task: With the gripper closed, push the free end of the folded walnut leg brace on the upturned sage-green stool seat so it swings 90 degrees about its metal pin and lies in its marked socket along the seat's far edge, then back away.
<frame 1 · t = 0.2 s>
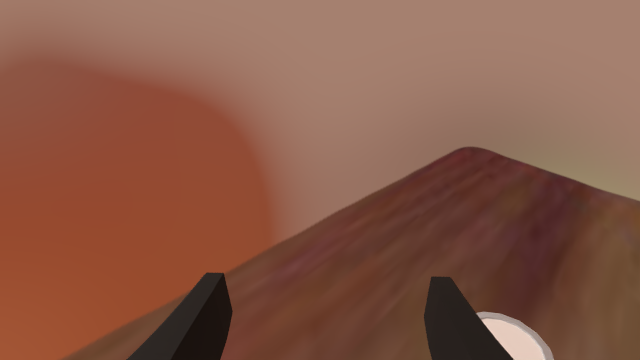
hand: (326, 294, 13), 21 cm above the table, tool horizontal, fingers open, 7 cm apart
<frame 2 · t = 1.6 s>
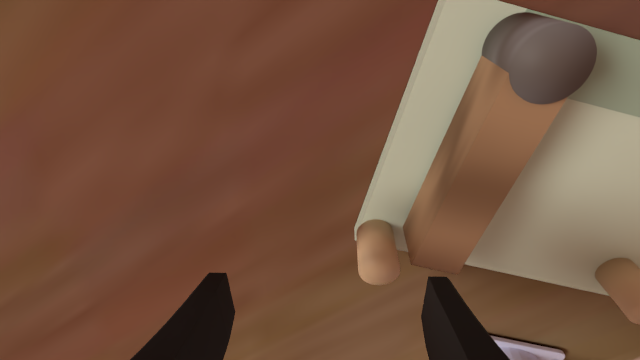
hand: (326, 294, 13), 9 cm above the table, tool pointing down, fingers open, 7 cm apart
seat: (545, 167, 20), on the table
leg: (479, 156, 16), point 3 cm above the table, hinge at 0.0°
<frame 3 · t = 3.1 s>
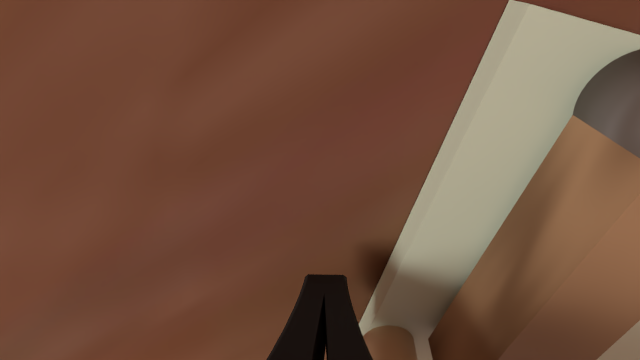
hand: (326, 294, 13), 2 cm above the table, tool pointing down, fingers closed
seat: (635, 257, 14), on the table
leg: (562, 272, 10), point 3 cm above the table, hinge at 0.0°
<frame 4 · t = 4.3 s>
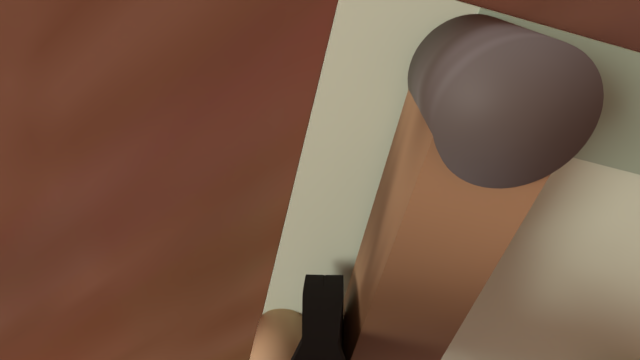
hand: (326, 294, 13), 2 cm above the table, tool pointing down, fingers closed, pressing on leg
seat: (523, 240, 14), on the table
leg: (419, 249, 10), point 3 cm above the table, hinge at 3.9°, touching gripper
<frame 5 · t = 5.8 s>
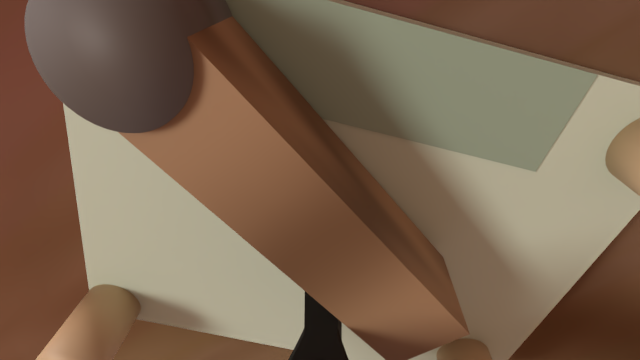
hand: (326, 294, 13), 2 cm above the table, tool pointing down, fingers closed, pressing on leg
seat: (337, 212, 14), on the table
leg: (295, 185, 9), point 3 cm above the table, hinge at 53.8°, touching gripper
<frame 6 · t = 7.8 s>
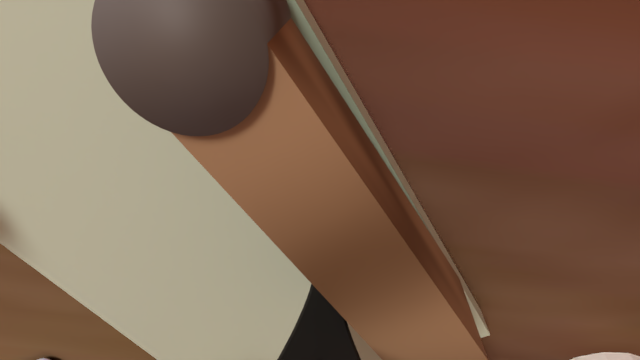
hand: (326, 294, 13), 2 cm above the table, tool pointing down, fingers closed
seat: (223, 228, 14), on the table
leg: (334, 199, 9), point 3 cm above the table, hinge at 92.0°, touching gripper
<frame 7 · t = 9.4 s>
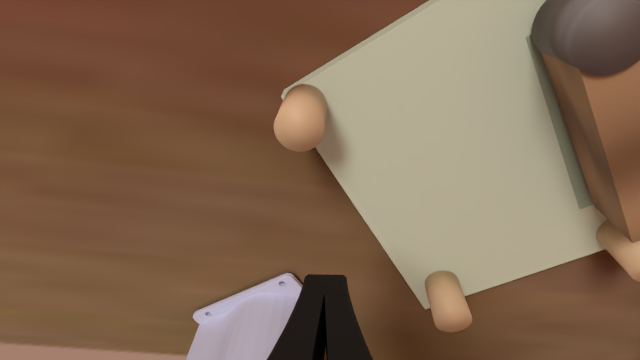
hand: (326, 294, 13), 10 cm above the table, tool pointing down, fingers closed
seat: (472, 161, 21), on the table
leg: (614, 121, 16), point 3 cm above the table, hinge at 92.0°
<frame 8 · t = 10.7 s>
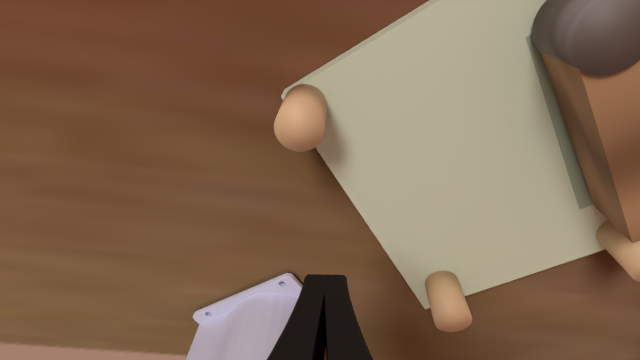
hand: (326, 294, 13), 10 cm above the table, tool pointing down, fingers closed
seat: (472, 161, 21), on the table
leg: (615, 121, 16), point 3 cm above the table, hinge at 92.0°
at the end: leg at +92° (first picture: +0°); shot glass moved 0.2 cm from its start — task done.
